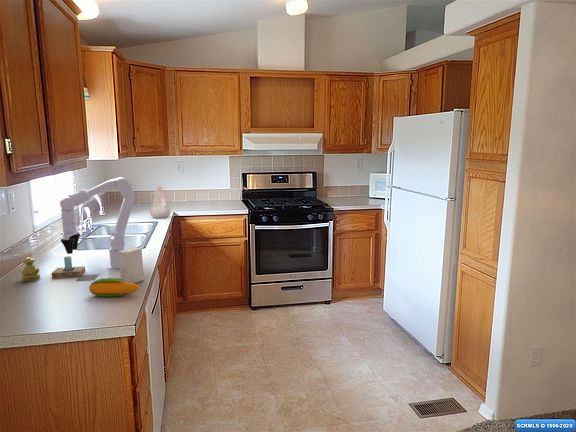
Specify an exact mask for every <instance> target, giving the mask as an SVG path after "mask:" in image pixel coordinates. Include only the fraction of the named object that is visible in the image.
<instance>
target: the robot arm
mask: <svg viewBox="0 0 576 432" xmlns="http://www.w3.org/2000/svg"><path fill="white" fill-rule="evenodd" d="M107 190H109V191H115V190H116V191H118V192H120V194H121V196H122V198H123V200H122V203H121V205H120V210H119V212H118V217H117V220H116V224H115V226H114V229H113V232H112V234H111V235H110V236H109V238H108V243H109V245H110V247H109V249H108V251H109V263H110V265H109V266H108V268H107V269H108V270H109V269H120V265H119V254H118V251H121V250H124V249H127V248H126V247H125V244H126V243H125V237H126V236H125V235H126V230H127V225H128V224H129V219H130V216H131V213H132V209H133V206H134V202H135V199H136V198H135V197H136V196H135V192H134V190H133V187H132V184H131V183H130V182H129V180H128V179H126V178H125V177H122V176H117V177H116V178H112V179H109V180H106V181H104V182H103V183H101V184H98V185H96V186H94V187H92V188H90V189H89V190H88V189H86V188H85V189H82V188H81V189H80V188H79V189H78V191H76V192H75V193H72V194H68V196H64V197H62V198H61V200H60V202H59V205H60V208H61V210H60V211H61V214H60V215H61V222H62V225H61V226H62V232H60V235H63V236H62V237H63V238H61V239H60V242H61V243H62V246H63V247H64V249H65V253H66V254H67V255H70V254H71V255H72V254H73V252H74V250H78V245H79V239H80V237H81V233H78V229H77V227H78V226H77V218H76V217H77V216H76V212H75V207H78V206H80V205H82V204H84V203H88V202H89V201H91V199H92V197H93V196H97V195H99V194H101V193H103V192H105V191H107Z"/></svg>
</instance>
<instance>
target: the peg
mask: <svg viewBox="0 0 576 432" xmlns="http://www.w3.org/2000/svg"><path fill="white" fill-rule="evenodd" d="M63 262H64V267H65V271H73V269H72V267H73V262H72V256H70V255H68V256H64V257H63Z"/></svg>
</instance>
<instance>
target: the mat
mask: <svg viewBox="0 0 576 432" xmlns="http://www.w3.org/2000/svg"><path fill="white" fill-rule="evenodd" d="M99 276H100V273H94V274H93V273H92V274H83V275H82V276H81V277H77V279H76V280H75V282H87V281H88V282H89V281H91V282H92V281H96V280H97V278H98V277H99Z"/></svg>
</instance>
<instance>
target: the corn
mask: <svg viewBox="0 0 576 432" xmlns="http://www.w3.org/2000/svg"><path fill="white" fill-rule="evenodd" d="M123 280H125V279H121V277H120V278H119V277H112V278H111V277H105V278H99V279H95V280H93V282H91V284H90V285H89V287H88V290H89V293H91V294H93V295H95V296H98V297H101V298H102V297H122V295H124V294H125V295H126V294H130V293H134V292H137V291H138V290H140V285H138V284H136V283H130V282H124V281H123Z"/></svg>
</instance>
